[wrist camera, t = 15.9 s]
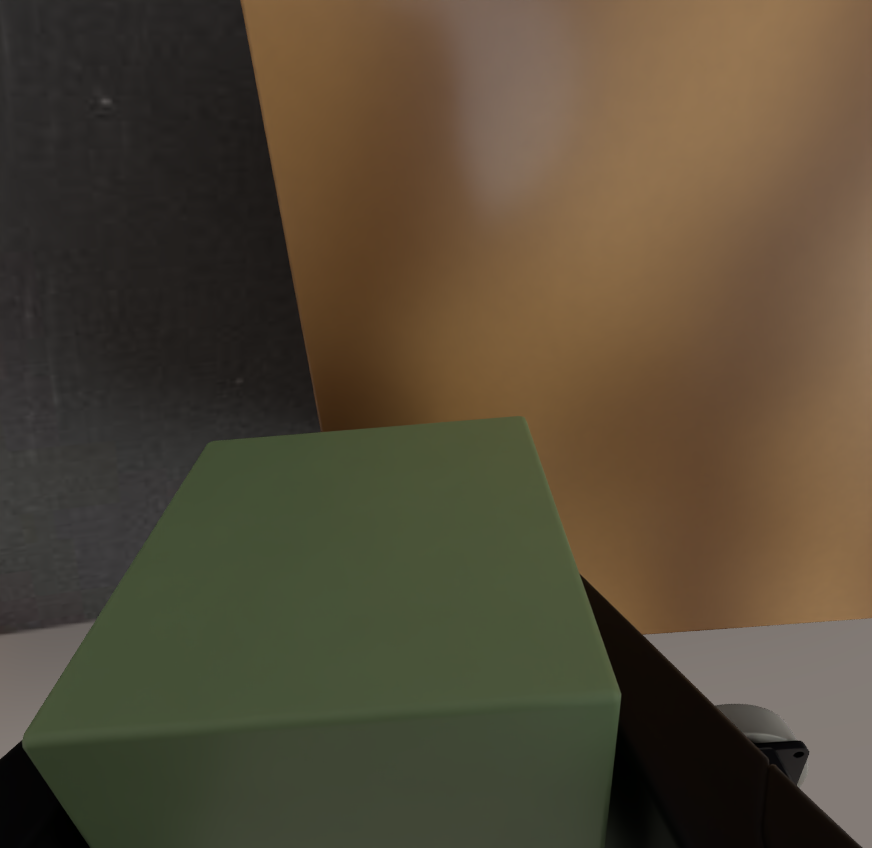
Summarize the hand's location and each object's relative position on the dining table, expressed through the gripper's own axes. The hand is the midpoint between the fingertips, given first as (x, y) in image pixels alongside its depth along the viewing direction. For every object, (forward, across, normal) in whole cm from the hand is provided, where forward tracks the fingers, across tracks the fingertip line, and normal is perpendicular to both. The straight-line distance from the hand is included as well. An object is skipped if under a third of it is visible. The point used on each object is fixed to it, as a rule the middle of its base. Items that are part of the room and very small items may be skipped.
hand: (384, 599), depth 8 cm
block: (+1, 0, 0) cm, 1 cm away
